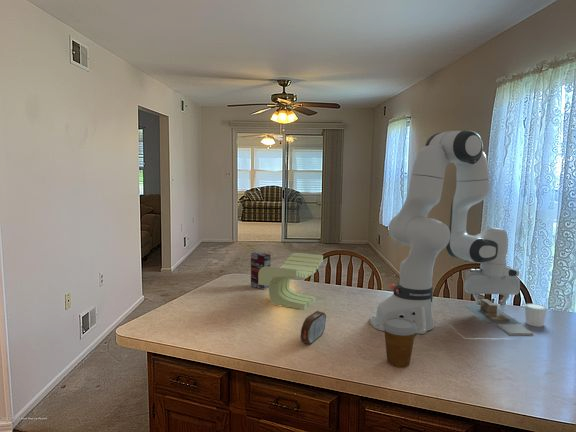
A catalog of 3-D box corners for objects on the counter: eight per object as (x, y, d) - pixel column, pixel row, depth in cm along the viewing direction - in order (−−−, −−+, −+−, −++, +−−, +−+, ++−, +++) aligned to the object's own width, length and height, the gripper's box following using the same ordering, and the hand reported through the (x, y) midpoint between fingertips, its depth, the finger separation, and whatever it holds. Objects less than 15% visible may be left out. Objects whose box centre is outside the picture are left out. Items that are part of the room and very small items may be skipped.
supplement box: (250, 286, 203) (250, 253, 201) (257, 284, 206) (257, 251, 204) (263, 290, 197) (263, 255, 195) (270, 287, 201) (271, 254, 199)
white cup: (548, 329, 153) (550, 309, 152) (527, 327, 154) (528, 308, 154) (541, 322, 160) (542, 303, 159) (521, 320, 161) (522, 302, 160)
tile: (497, 329, 154) (509, 337, 146) (497, 324, 154) (509, 332, 146) (520, 329, 154) (532, 338, 146) (520, 324, 154) (533, 333, 146)
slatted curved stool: (288, 290, 197) (289, 251, 195) (322, 295, 191) (322, 255, 189) (258, 310, 170) (258, 265, 168) (295, 316, 163) (296, 269, 161)
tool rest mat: (487, 324, 157) (487, 323, 157) (464, 306, 177) (464, 305, 177) (520, 324, 157) (520, 323, 157) (493, 307, 177) (493, 305, 177)
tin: (318, 331, 149) (319, 307, 148) (327, 332, 147) (327, 308, 146) (299, 346, 136) (299, 320, 135) (308, 348, 134) (309, 322, 133)
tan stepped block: (476, 308, 173) (476, 299, 172) (490, 308, 173) (491, 299, 172) (493, 321, 159) (493, 310, 158) (509, 321, 159) (510, 310, 158)
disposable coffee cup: (377, 356, 129) (378, 317, 128) (408, 355, 130) (410, 316, 129) (387, 370, 120) (388, 329, 119) (420, 369, 121) (422, 328, 119)
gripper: (469, 270, 162) (466, 306, 163) (523, 272, 162) (520, 308, 164) (462, 266, 168) (459, 301, 170) (514, 268, 168) (511, 302, 170)
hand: (490, 304), depth 167 cm, fingers open, 8 cm apart
